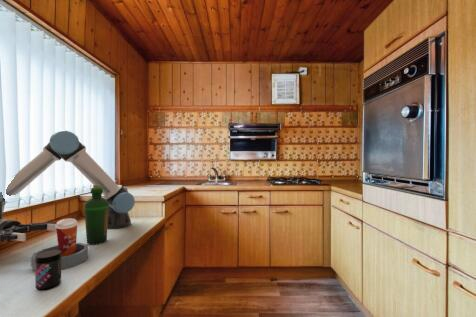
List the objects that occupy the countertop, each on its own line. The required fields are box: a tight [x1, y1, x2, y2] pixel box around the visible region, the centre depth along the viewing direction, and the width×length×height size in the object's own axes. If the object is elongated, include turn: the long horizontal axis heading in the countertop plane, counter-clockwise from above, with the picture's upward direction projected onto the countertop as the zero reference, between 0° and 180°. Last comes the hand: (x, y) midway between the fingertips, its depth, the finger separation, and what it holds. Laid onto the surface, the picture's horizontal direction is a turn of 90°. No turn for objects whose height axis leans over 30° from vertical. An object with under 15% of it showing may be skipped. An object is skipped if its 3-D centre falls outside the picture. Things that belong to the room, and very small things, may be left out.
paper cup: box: [55, 218, 79, 257], centre depth 102 cm, size 8×8×14 cm
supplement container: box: [34, 250, 62, 292], centre depth 80 cm, size 7×7×10 cm
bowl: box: [30, 242, 89, 272], centre depth 99 cm, size 18×18×4 cm
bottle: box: [83, 184, 109, 246], centre depth 122 cm, size 11×11×28 cm
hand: (43, 232), depth 102 cm, fingers open, 13 cm apart
